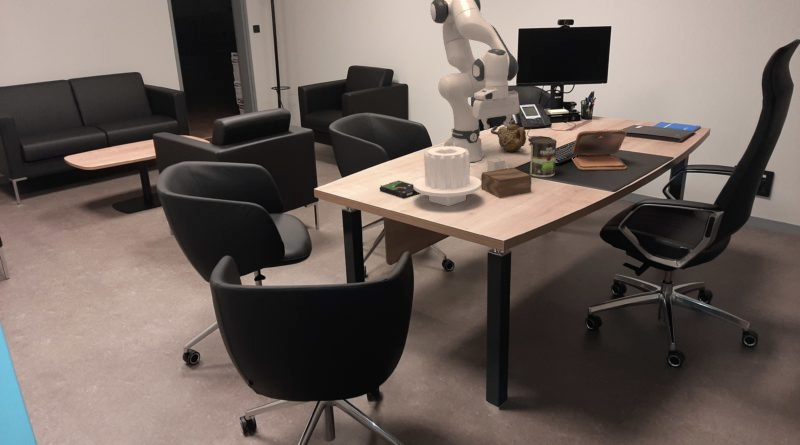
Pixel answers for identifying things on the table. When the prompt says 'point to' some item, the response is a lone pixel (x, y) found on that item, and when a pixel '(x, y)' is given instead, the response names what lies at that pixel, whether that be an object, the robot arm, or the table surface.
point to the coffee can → (543, 157)
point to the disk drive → (399, 189)
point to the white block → (495, 164)
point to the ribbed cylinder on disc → (447, 176)
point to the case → (599, 150)
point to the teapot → (511, 137)
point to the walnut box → (506, 182)
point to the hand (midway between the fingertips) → (496, 127)
